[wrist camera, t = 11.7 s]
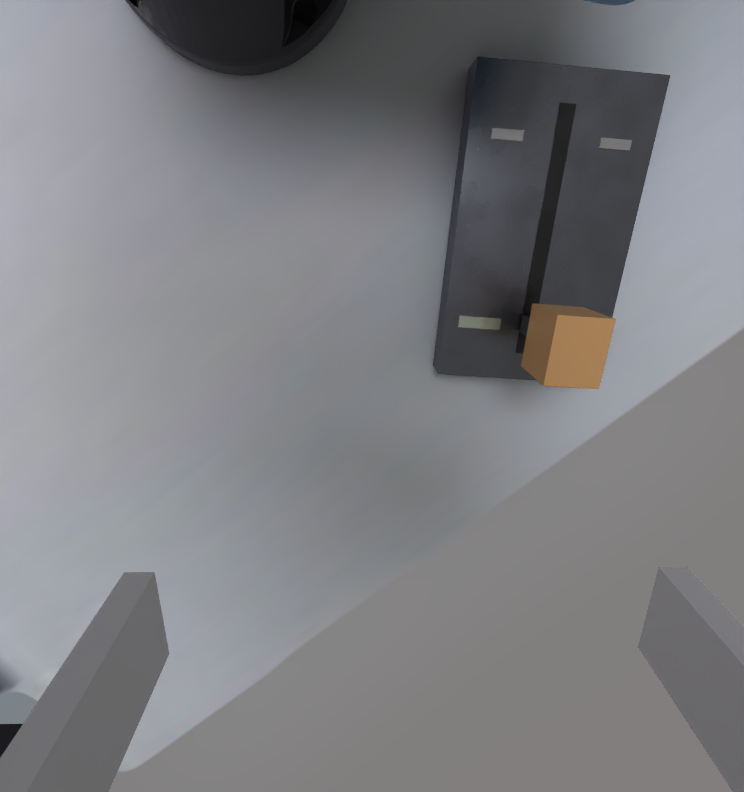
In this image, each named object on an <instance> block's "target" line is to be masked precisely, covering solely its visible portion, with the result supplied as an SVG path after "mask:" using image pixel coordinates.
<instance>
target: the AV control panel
mask: <svg viewBox="0 0 744 792" xmlns="http://www.w3.org/2000/svg"><path fill="white" fill-rule="evenodd" d="M669 78H670V75H662V74H652V73H641V72H631V71H620V70H610V69H600V68H589V67H579V66H569V65H558V64H548V63H537V62H527V61H517V60H506V59H496V58H485V57H477V58H476V60H475V61H474V63H473V64H472V65H471V67H470V68H469V71H468V80H467V88H466V96H465V105H464V113H463V121H462V129H461V138H460V146H459V154H458V163H457V171H456V179H455V188H454V196H453V204H452V213H451V221H450V229H449V238H448V246H447V254H446V263H445V271H444V279H443V287H442V296H441V304H440V312H439V321H438V329H437V337H436V346H435V354H434V362H433V365H434V367H435V369H436V371H437V373H438V374H447V375H462V376H478V377H494V378H510V379H525V380H536V379H535V378H534V377H533V376H532V375H531V374H529V373H528V372H527V371H526V370H525V369H524V368H523V367H521V363H522V358H523V352H524V347H525V341H526V336H525V335H523V334H522V333H520V329H521V324H522V318H523V315H524V316H530V314H531V308H532V303H533V304H547V305H561V306H575V307H584V308H587V309H590V310H593V311H595V312H598V313H601V314H603V315H606V316H609V317H612V315H613V311H614V307H615V303H616V299H617V295H618V290H619V286H620V282H621V278H622V274H623V270H624V266H625V261H626V257H627V253H628V249H629V245H630V241H631V236H632V232H633V228H634V224H635V220H636V216H637V211H638V207H639V203H640V199H641V195H642V191H643V186H644V182H645V178H646V174H647V170H648V166H649V162H650V157H651V153H652V149H653V145H654V141H655V137H656V132H657V128H658V124H659V120H660V116H661V112H662V107H663V103H664V99H665V95H666V91H667V87H668V82H669Z"/></svg>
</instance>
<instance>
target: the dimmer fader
mask: <svg viewBox="0 0 744 792" xmlns="http://www.w3.org/2000/svg"><path fill="white" fill-rule="evenodd" d="M615 320H616V319H614V318H612V317H609V316H606V315H603V314H601V313H598V312H595V311H593V310H590V309H587V308H584V307H575V306H561V305H547V304H533V303H532V308H531V314H530V316H524V315H523V318H522V324H521V329H520V333H522V334H523V335H525V336H526V341H525V347H524V352H523V358H522V363H521V367H523V368H524V369H525V370H526V371H527V372H528V373H529V374H531V375H532V376H533V377H534V378H535V379H536V380H538V381H539V382H540V383H541V384H542V385H543V386H557V387H573V388H589V389H599V386H600V382H601V378H602V374H603V370H604V365H605V361H606V357H607V353H608V349H609V345H610V341H611V337H612V333H613V328H614V324H615Z"/></svg>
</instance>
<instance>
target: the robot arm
mask: <svg viewBox="0 0 744 792" xmlns="http://www.w3.org/2000/svg"><path fill="white" fill-rule="evenodd" d="M585 1H590V2H595V3H600V4H607V5H620V4H627V3H630V2H632V1H634V0H585ZM126 2H127V3H128V4H129V6H130V7H131V8H132V9H133V11H134V12H135V13H136V14H137V15H138V17H139V18H140V19H141V20H142V21H143V22H144V23H145V24H146V25H147V26H148V27H149V28H150V29H151V30H152V31H153V32H154V33H155V34H156V35H158V36H159V37H160V38H161V39H162V40H163V41H164V42H165V43H166V44H167V45H169V46H170V47H171V48H172V49H174V50H175V51H176V52H178V53H179V54H181V55H182V56H184V57H186V58H187V59H189V60H191V61H193V62H195V63H197V64H199V65H201V66H203V67H206V68H208V69H211V70H215V71H218V72H222V73H227V74H235V75H255V74H263V73H267V72H272V71H275V70H278V69H281V68H283V67H286V66H288V65H290V64H292V63H294V62H295V61H297V60H299V59H300V58H302V57H303V56H305V55H306V54H307V53H309V52H310V51H311V50H312V49H313V48H314V47H316V46H317V45H318V44H319V43H320V42H321V40H322V39H323V38H324V37H325V36H326V35H327V33H328V32H329V31H330V30H331V28H332V27H333V25H334V24H335V22H336V21H337V19H338V17H339V16H340V14H341V12H342V10H343V8H344V6H345V4H346V2H347V0H126ZM638 648H639V649H640V651H641V652H642V654H643V655H644V657H645V658H646V660H647V661H648V663H649V664H650V666H651V667H652V669H653V670H654V672H655V674H656V675H657V677H658V678H659V680H660V681H661V683H662V684H663V686H664V687H665V689H666V690H667V692H668V693H669V695H670V696H671V698H672V699H673V701H674V703H675V704H676V705H677V707H678V709H679V710H680V712H681V713H682V715H683V716H684V718H685V719H686V721H687V722H688V724H689V726H690V727H691V729H692V730H693V732H694V733H695V735H696V736H697V738H698V739H699V741H700V742H701V744H702V745H703V747H704V748H705V750H706V751H707V753H708V754H709V756H710V758H711V759H712V761H713V762H714V764H715V765H716V767H717V768H718V770H719V771H720V773H721V775H722V776H723V778H724V779H725V781H726V782H727V784H728V785H729V787H730V788H731V790H732V791H733V792H744V626H743V625H742V624H741V623H740V622H739V621H738V620H737V619H736V618H735V617H734V616H733V615H732V614H731V612H730V611H729V610H728V609H727V608H726V607H725V606H724V605H723V604H722V603H721V602H720V601H719V600H718V599H717V598H716V597H715V596H714V595H713V593H712V592H711V591H710V590H709V589H708V588H707V587H706V586H705V585H704V584H703V583H702V582H701V581H700V580H699V579H698V578H697V577H696V576H695V574H693V572H692V571H691V570H690V569H689V568H688V567H658V571H657V575H656V579H655V583H654V587H653V591H652V594H651V598H650V602H649V606H648V610H647V614H646V618H645V622H644V626H643V630H642V633H641V638H640V641H639V645H638ZM168 655H169V650H168V644H167V639H166V633H165V628H164V622H163V617H162V611H161V605H160V600H159V594H158V589H157V583H156V578H155V572H130V573H124V574H123V575H122V577H121V578H120V580H119V581H118V583H117V584H116V586H115V587H114V589H113V590H112V592H111V593H110V595H109V596H108V598H107V599H106V601H105V602H104V604H103V605H102V607H101V608H100V610H99V611H98V613H97V614H96V616H95V617H94V619H93V620H92V622H91V623H90V625H89V626H88V628H87V629H86V631H85V632H84V634H83V635H82V636H81V638H80V639H79V641H78V642H77V644H76V645H75V647H74V648H73V650H72V651H71V653H70V654H69V656H68V657H67V659H66V660H65V662H64V663H63V665H62V666H61V668H60V669H59V671H58V672H57V674H56V675H55V677H54V678H53V680H52V681H51V683H50V684H49V686H48V687H47V689H46V690H45V692H44V693H43V695H42V696H41V698H40V699H39V701H38V702H37V704H36V705H35V707H34V708H33V710H32V711H31V713H30V714H29V716H28V717H27V719H26V720H25V722H24V723H23V724H0V792H108V791H109V789H110V787H111V784H112V782H113V780H114V778H115V776H116V773H117V771H118V769H119V767H120V764H121V762H122V760H123V758H124V755H125V753H126V751H127V748H128V746H129V744H130V742H131V739H132V737H133V735H134V732H135V730H136V728H137V726H138V723H139V721H140V719H141V717H142V714H143V712H144V710H145V707H146V705H147V703H148V701H149V698H150V696H151V694H152V692H153V689H154V687H155V685H156V682H157V680H158V678H159V676H160V673H161V671H162V669H163V667H164V664H165V662H166V660H167V657H168Z"/></svg>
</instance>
